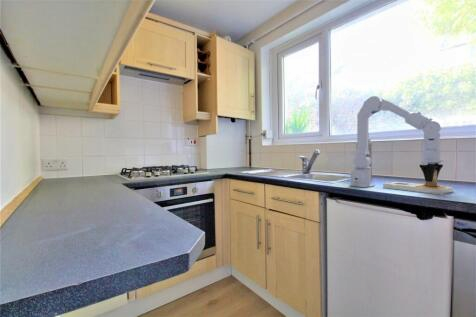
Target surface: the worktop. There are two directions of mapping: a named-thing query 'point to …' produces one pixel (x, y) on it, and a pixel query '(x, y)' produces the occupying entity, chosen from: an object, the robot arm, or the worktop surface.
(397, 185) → the rail plate
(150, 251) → the worktop surface
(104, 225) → the worktop surface
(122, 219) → the worktop surface
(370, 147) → the thermos bottle
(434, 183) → the peg
